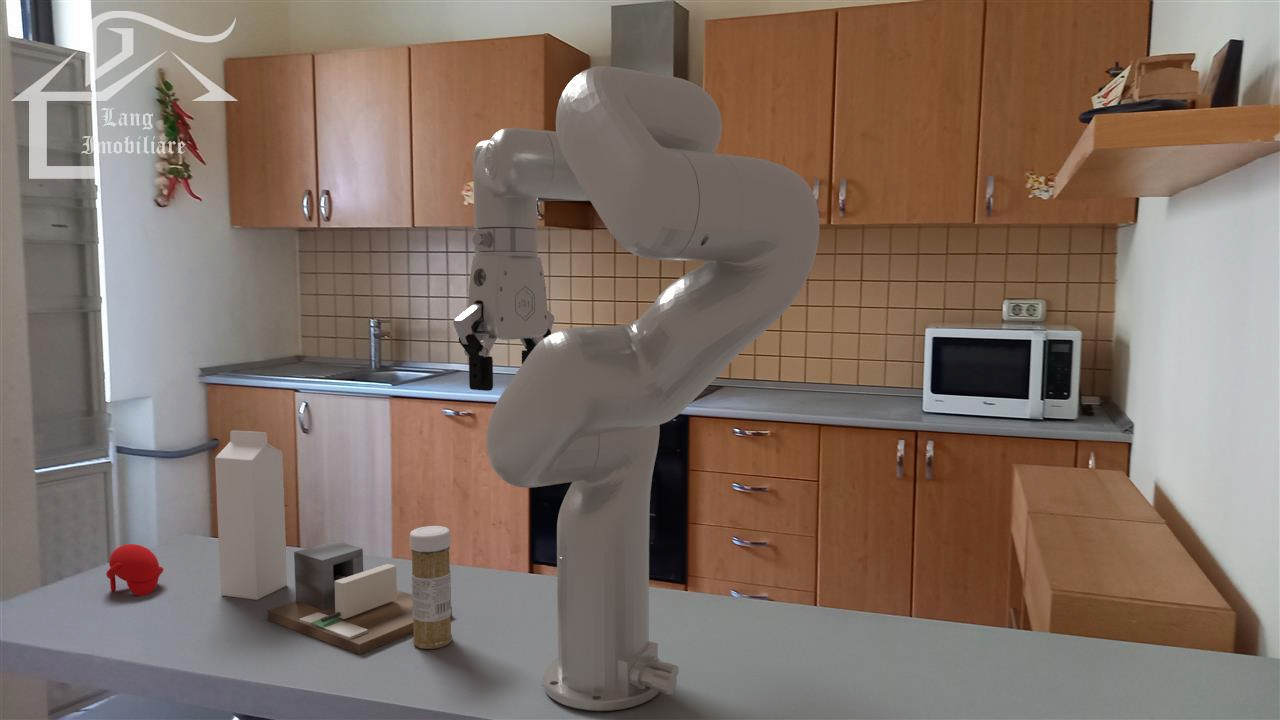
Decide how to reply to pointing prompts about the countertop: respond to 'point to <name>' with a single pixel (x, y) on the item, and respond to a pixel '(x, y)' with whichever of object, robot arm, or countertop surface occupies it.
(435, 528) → the sprinkles bottle
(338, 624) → the gauge frame
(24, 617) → the countertop surface
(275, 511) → the milk
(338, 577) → the spring plunger
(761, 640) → the countertop surface
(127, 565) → the cap
